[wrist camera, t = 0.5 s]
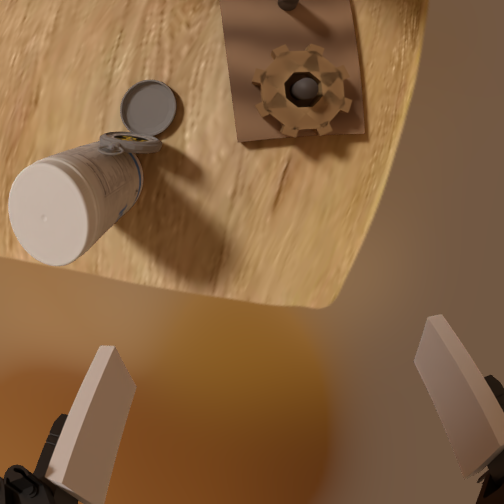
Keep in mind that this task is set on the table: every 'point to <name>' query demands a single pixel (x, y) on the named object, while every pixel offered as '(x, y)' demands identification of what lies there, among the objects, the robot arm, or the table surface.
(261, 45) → the gear board
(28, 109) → the table surface
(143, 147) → the pocket watch
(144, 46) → the table surface
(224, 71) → the table surface
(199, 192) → the table surface
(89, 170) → the supplement tub
